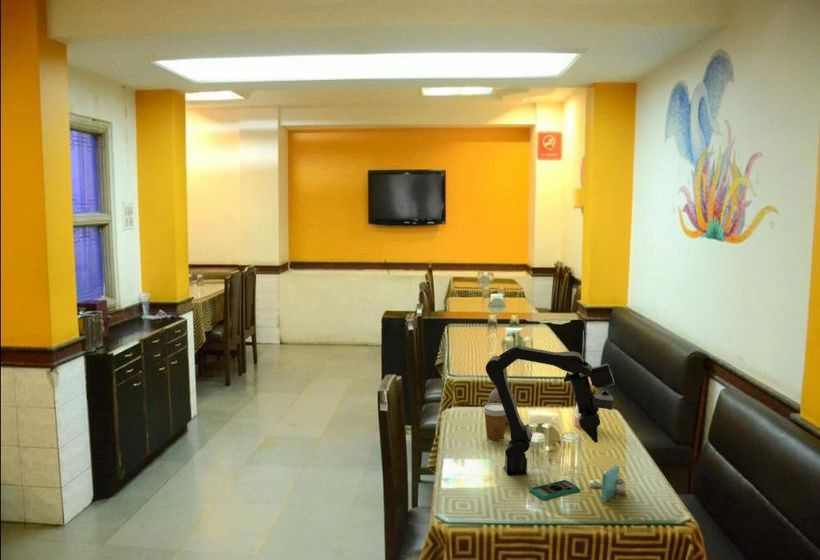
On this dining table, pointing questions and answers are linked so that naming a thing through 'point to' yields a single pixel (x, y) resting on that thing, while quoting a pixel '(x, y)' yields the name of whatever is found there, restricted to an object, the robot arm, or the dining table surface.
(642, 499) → the dining table surface
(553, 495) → the digital multimeter
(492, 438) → the disposable coffee cup
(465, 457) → the dining table surface
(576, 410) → the pepper shaker
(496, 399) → the decorative egg
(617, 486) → the light blue tilted panel
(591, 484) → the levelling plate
